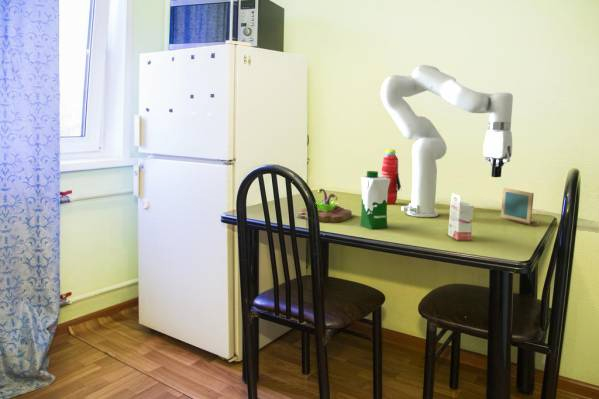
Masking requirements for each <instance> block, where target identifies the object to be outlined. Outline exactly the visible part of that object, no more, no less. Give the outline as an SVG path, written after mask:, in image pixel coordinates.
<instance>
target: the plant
mask: <svg viewBox="0 0 599 399" xmlns="http://www.w3.org/2000/svg"><path fill="white" fill-rule="evenodd" d="M317 192H318V194H321V193H322V192H323V195H324V196H323V200H322V201H319V200H316V201H315V204H317V207H318V212H319V221H318V222H320V223H328V222H329V223H330V222H331V223H341V222H344V221H345V220H347V219H351V218H352V216H353V214H352V213H353V212H352V210H350V209H347V208H344V207H341V206H340V205H339V202H336V203H335V201H338V196H337V195H335V194H334V193H330V194H329V195H327V192H326V190H325V189H324V188H319V189H318V190H317ZM331 198H333V199H334V200H331ZM306 208H307V207H306ZM306 208H302V209H301V210H299V211H298V213H297V218H299V219H303V218H304V220H308V219H307V217H305V216H300V215H306ZM298 214H299V215H298Z"/></svg>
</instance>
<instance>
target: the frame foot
mask: <svg viewBox="0 0 599 399" xmlns="http://www.w3.org/2000/svg"><path fill="white" fill-rule="evenodd" d="M501 219H503V220H507V221H509V222H510V221H511V222H515V223H519V224H522V225H527V226H531V227H537V226H538V221H539V220H535V219H531V223H525V222H521V221H517V220H513V219H509V218H505V217H501Z"/></svg>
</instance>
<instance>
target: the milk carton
mask: <svg viewBox="0 0 599 399" xmlns="http://www.w3.org/2000/svg"><path fill="white" fill-rule="evenodd" d="M360 181H361V212H360V226H362V227H364V228H367V229H370V230H377V229H385V228H388V204H387V195H388V187H389V183H390V179H388V178H385V177H382V176H379V172H378V171H376V170H367V171H366V176H361V177H360Z"/></svg>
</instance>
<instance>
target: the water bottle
mask: <svg viewBox="0 0 599 399" xmlns="http://www.w3.org/2000/svg"><path fill="white" fill-rule="evenodd" d="M399 175H400V173H399V158H398V157H397V155H396V149H392V148H388V149H386V150H385V154H384V156H383V157H382V160H381V177H385V178H388V179H390V183H389V187H388V195H387V205H394V204H396V203H397V200H398V192H399V191H400V190H401V189H402V185H401V181H400V177H399Z"/></svg>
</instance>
